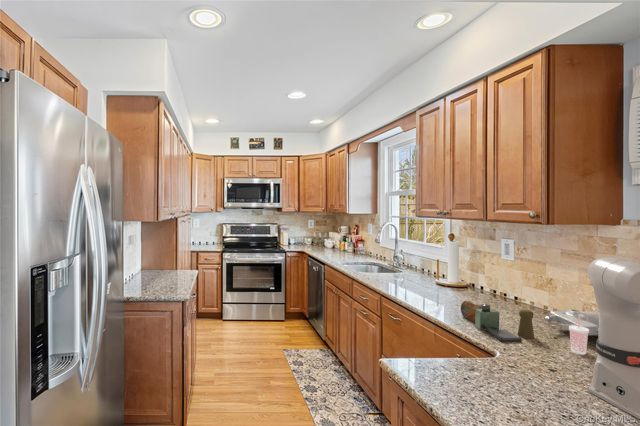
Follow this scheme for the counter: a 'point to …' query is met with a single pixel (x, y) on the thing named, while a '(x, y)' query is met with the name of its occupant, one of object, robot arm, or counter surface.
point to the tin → (469, 310)
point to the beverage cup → (578, 338)
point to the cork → (526, 324)
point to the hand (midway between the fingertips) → (553, 322)
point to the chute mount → (493, 324)
